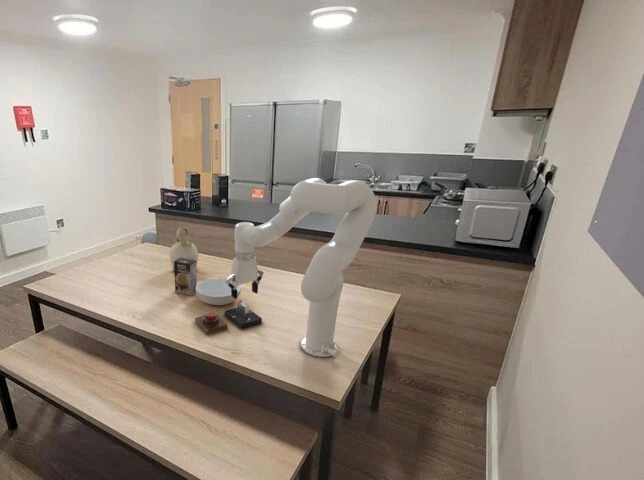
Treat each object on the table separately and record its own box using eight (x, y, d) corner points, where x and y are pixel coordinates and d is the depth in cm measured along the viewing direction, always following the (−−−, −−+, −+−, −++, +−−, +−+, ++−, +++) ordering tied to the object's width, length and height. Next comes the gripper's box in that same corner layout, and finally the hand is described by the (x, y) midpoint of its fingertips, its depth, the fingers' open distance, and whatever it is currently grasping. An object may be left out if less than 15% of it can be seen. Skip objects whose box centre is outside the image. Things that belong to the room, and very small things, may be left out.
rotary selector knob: (248, 316, 154) (249, 305, 152) (244, 318, 153) (245, 306, 151) (241, 310, 159) (241, 299, 157) (237, 311, 158) (237, 300, 156)
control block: (227, 329, 150) (227, 320, 149) (207, 334, 146) (207, 325, 145) (214, 317, 159) (214, 309, 158) (195, 322, 155) (194, 314, 154)
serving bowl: (248, 296, 178) (248, 283, 175) (227, 315, 161) (227, 300, 158) (210, 287, 187) (210, 274, 185) (186, 304, 171) (186, 290, 168)
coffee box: (174, 292, 183) (172, 261, 176) (181, 287, 188) (180, 257, 182) (190, 296, 179) (189, 264, 172) (197, 291, 184) (196, 259, 178)
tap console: (261, 323, 154) (262, 317, 153) (240, 329, 150) (240, 323, 149) (244, 310, 165) (244, 305, 164) (224, 316, 160) (224, 310, 159)
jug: (166, 268, 213) (164, 225, 203) (192, 263, 218) (190, 221, 209) (176, 277, 200) (173, 231, 190) (202, 272, 206) (202, 228, 196)
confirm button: (216, 318, 151) (216, 315, 150) (208, 321, 149) (208, 317, 148) (212, 315, 154) (212, 311, 153) (204, 317, 152) (204, 313, 151)
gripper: (257, 248, 152) (257, 287, 159) (220, 256, 145) (221, 296, 152) (268, 253, 146) (267, 293, 153) (230, 261, 139) (231, 303, 145)
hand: (244, 295), depth 152 cm, fingers open, 9 cm apart
